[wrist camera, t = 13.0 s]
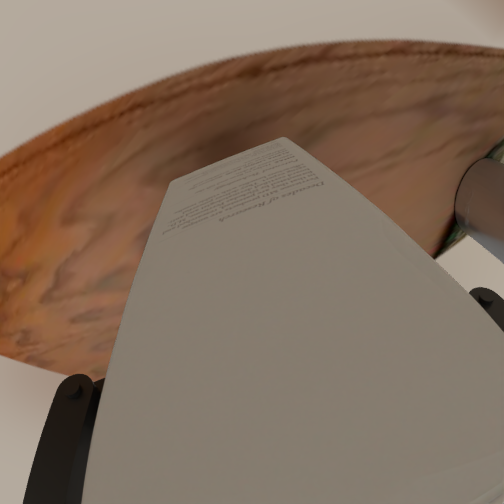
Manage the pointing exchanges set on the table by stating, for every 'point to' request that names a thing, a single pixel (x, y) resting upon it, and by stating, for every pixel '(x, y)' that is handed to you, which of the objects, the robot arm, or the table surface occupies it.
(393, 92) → the table surface
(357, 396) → the skincare box
